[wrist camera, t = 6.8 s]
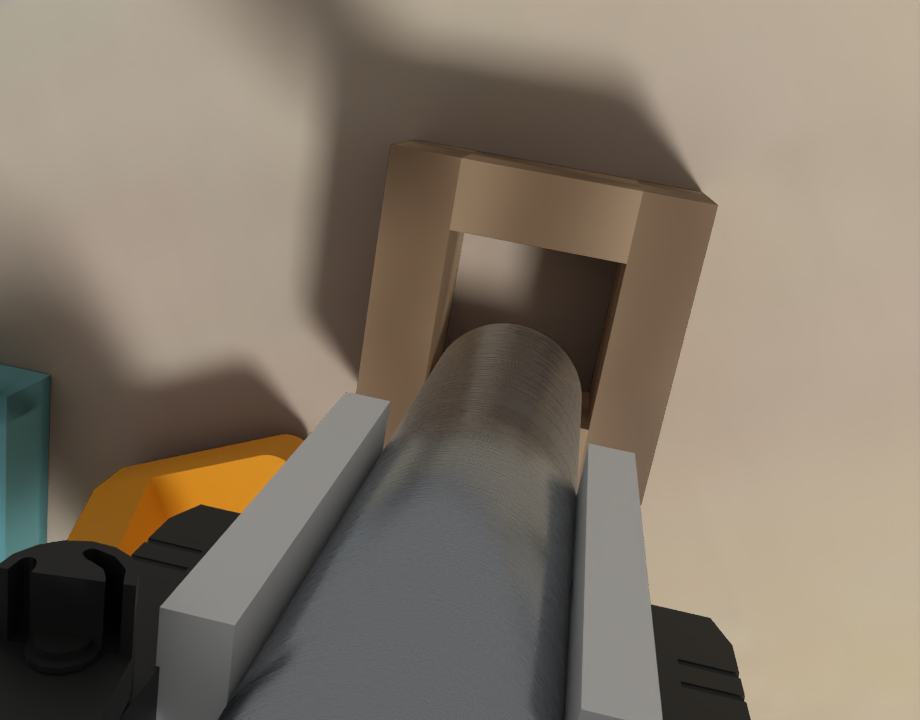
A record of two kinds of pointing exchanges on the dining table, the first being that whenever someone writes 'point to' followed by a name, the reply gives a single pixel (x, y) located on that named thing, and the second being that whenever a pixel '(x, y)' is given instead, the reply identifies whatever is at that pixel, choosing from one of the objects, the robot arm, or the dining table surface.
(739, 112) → the dining table surface
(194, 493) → the bracket
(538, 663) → the pin
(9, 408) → the tray
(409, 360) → the tan square sleeve
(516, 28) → the dining table surface
